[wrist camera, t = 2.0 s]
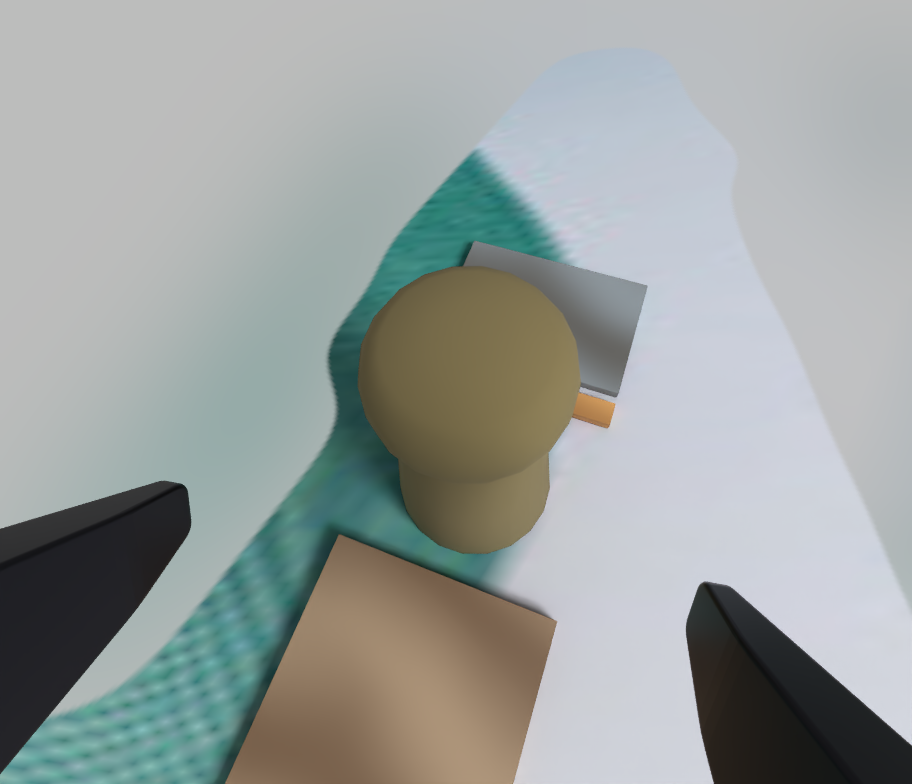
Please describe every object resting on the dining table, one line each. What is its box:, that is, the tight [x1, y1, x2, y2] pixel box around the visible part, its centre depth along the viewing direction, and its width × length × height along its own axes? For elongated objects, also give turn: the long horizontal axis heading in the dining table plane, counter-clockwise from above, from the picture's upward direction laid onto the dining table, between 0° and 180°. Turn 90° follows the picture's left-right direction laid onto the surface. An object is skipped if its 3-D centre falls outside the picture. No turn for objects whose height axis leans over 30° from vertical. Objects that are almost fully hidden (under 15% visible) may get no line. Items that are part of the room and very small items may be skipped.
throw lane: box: [225, 241, 647, 784], centre depth 19 cm, size 31×8×1 cm, turn 159°
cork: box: [358, 266, 581, 554], centre depth 15 cm, size 6×6×11 cm
